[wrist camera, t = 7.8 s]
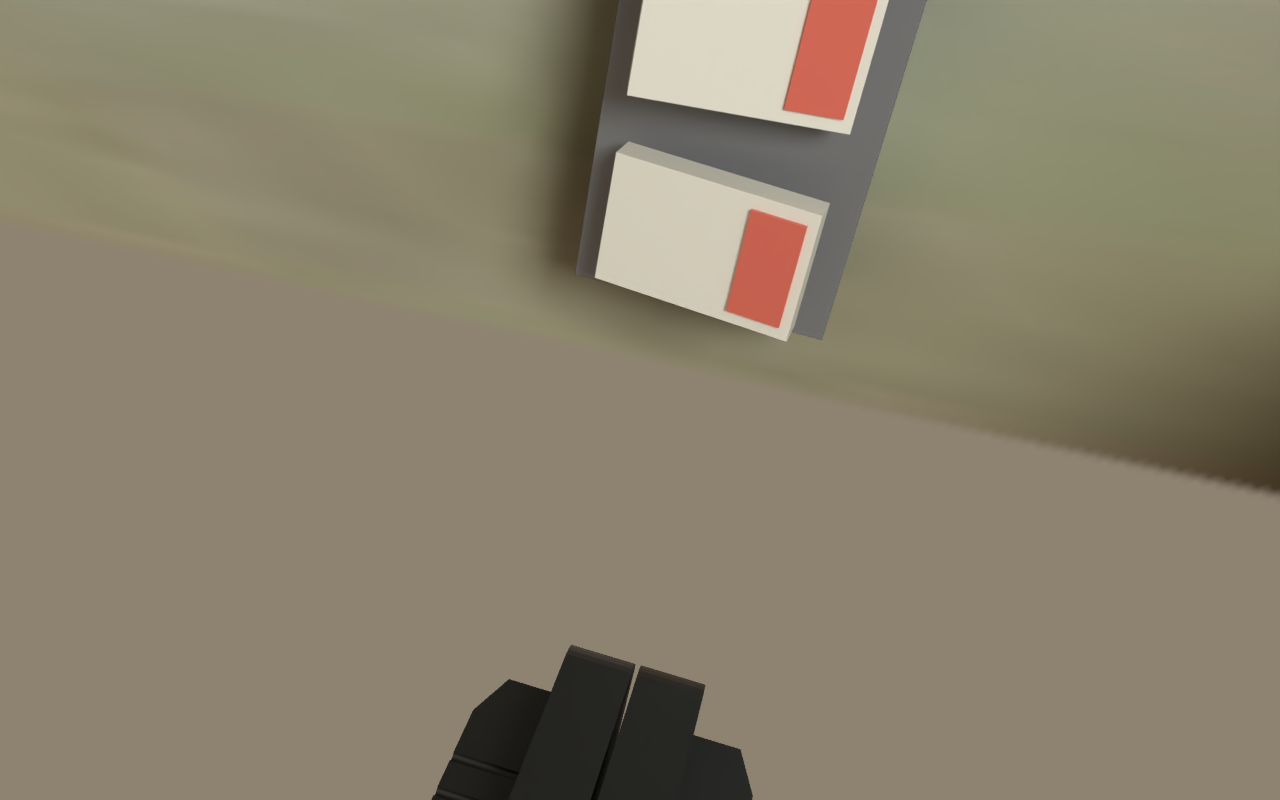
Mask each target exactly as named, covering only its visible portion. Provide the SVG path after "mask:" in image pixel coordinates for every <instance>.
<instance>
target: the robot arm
mask: <svg viewBox="0 0 1280 800" xmlns="http://www.w3.org/2000/svg"><path fill="white" fill-rule="evenodd" d="M634 669H635V664H633V663H630V662H627V661H623V660H620V659H617V658H613V657H610V656H607V655H603V654H600V653H596V652H593V651H590V650H587V649H583V648H580V647H577V646H573V645H571V646H570V648H569V650H568V652H567V654H566V656H565V658H564V661H563V663H562V666H561V669H560V671H559V674H558V676H557V679H556V681H555V683H554V686H553V688H552V691H551V692H549V691H546V690H543V689H539V688H536V687H533V686H530V685H526V684H523V683H520V682H517V681H513V680H510V679H509V680H507V681H506V682H505V683H504V684H503V685H502V686H501V687H499V688H498V689H497V690H496V691H495V692H494V693H493V694H491V695H490V696H489V697H488V698H487V699H485V700H484V701H483V702H482V703H481V704H480V705H479V706H477V707H476V708H475V709H474V710H473V712H472V714H471V716H470V718H469V720H468V723H467V725H466V727H465V729H464V731H463V733H462V735H461V738H460V740H459V742H458V744H457V746H456V748H455V751H454V754H453V757H452V759H451V760H450V761H449V763H448V765H447V768H446V770H445V772H444V774H443V776H442V778H441V780H440V783H439V785H438V788H437V791H436V794H435V796H433V798H432V800H752V797H753V795H752V792H751V788H750V784H749V780H748V776H747V773H746V769H745V765H744V761H743V757H742V754H741V750H740V749H737V748H734V747H731V746H727V745H724V744H721V743H718V742H714V741H711V740H708V739H704V738H701V737H698V736H695V735H693V734H694V730H695V726H696V722H697V718H698V714H699V710H700V706H701V702H702V697H703V693H704V689H705V685H704V684H701V683H698V682H694V681H691V680H688V679H684V678H681V677H678V676H675V675H671V674H668V673H664V672H661V671H658V670H654V669H651V668H648V667H645V666H641V667H640V669H639V672H638V675H637V678H636V681H635V684H634V687H633V691H632V694H631V697H630V700H629V703H628V706H627V710H626V713H625V716H624V719H623V722H622V718H623V714H624V710H625V706H626V702H627V697H628V694H629V690H630V686H631V682H632V677H633V673H634ZM621 722H622V725H621ZM620 726H621V728H620ZM619 730H620V732H619ZM618 734H619V735H618Z"/></svg>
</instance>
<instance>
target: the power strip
mask: <svg viewBox="0 0 1280 800" xmlns="http://www.w3.org/2000/svg"><path fill="white" fill-rule="evenodd" d="M926 1H927V0H889V2H888V5H887V8H886V12H885V15H884V19H883V22H882V26H881V29H880V33H879V36H878V40H877V43H876V46H875V50H874V53H873V57H872V60H871V64H870V67H869V71H868V74H867V77H866V81H865V84H864V88H863V91H862V95H861V98H860V102H859V105H858V108H857V112H856V115H855V119H854V122H853V126H852V129H851V133H850V135H849V134H843V133H838V132H832V131H826V130H821V129H815V128H809V127H804V126H798V125H792V124H787V123H781V122H776V121H770V120H764V119H759V118H753V117H747V116H742V115H736V114H730V113H725V112H719V111H713V110H708V109H702V108H696V107H691V106H685V105H679V104H674V103H668V102H662V101H657V100H651V99H645V98H640V97H634V96H628V95H627V89H628V80H629V74H630V68H631V63H632V57H633V51H634V45H635V39H636V33H637V27H638V22H639V16H640V10H641V4H642V0H619V2H618V8H617V14H616V21H615V27H614V33H613V40H612V46H611V52H610V58H609V65H608V71H607V77H606V83H605V90H604V96H603V102H602V109H601V115H600V121H599V127H598V134H597V140H596V146H595V152H594V159H593V165H592V171H591V178H590V184H589V190H588V196H587V203H586V209H585V215H584V221H583V228H582V234H581V240H580V247H579V253H578V259H577V265H576V272H575V274H577V275H581V276H585V277H588V278H592V279H596V280H599V281H603V280H600V279H597V278H595V273H596V268H597V262H598V256H599V250H600V244H601V238H602V232H603V227H604V221H605V215H606V209H607V203H608V197H609V191H610V186H611V180H612V174H613V168H614V162H615V156H616V152H617V151H618V150H619V149H620V148H622V147H623V146H624V145H625V144H626V143H627V142H632V143H635V144H639V145H642V146H645V147H648V148H652V149H655V150H658V151H661V152H665V153H668V154H671V155H675V156H678V157H681V158H684V159H688V160H691V161H694V162H697V163H701V164H704V165H707V166H710V167H714V168H717V169H720V170H723V171H727V172H730V173H733V174H737V175H740V176H743V177H746V178H750V179H753V180H756V181H759V182H763V183H766V184H769V185H772V186H776V187H779V188H782V189H785V190H789V191H792V192H795V193H798V194H802V195H805V196H808V197H812V198H815V199H818V200H821V201H825V202H828V203H830V205H829V208H828V212H827V215H826V219H825V222H824V226H823V229H822V233H821V236H820V239H819V243H818V246H817V250H816V253H815V257H814V260H813V264H812V267H811V271H810V274H809V277H808V281H807V284H806V288H805V291H804V295H803V298H802V302H801V305H800V308H799V312H798V315H797V319H796V322H795V326H794V328H793V330H792V332H793V333H797V334H801V335H804V336H808V337H812V338H816V339H819V340H822V338H823V335H824V332H825V328H826V325H827V322H828V319H829V315H830V312H831V309H832V306H833V302H834V299H835V296H836V293H837V289H838V286H839V283H840V280H841V276H842V273H843V270H844V267H845V263H846V260H847V257H848V254H849V250H850V247H851V244H852V241H853V238H854V234H855V231H856V228H857V225H858V221H859V218H860V215H861V212H862V208H863V205H864V202H865V199H866V195H867V192H868V189H869V186H870V182H871V179H872V176H873V173H874V169H875V166H876V163H877V160H878V156H879V153H880V150H881V147H882V143H883V140H884V137H885V134H886V130H887V127H888V124H889V121H890V118H891V114H892V111H893V108H894V105H895V101H896V98H897V95H898V92H899V88H900V85H901V82H902V79H903V75H904V72H905V69H906V66H907V62H908V59H909V56H910V53H911V49H912V46H913V43H914V40H915V36H916V33H917V30H918V27H919V23H920V20H921V17H922V14H923V10H924V7H925V4H926ZM603 282H606V281H603ZM607 283H609V282H607ZM611 284H612V283H611ZM614 285H615V284H614Z"/></svg>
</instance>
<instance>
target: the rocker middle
mask: <svg viewBox="0 0 1280 800" xmlns="http://www.w3.org/2000/svg"><path fill="white" fill-rule="evenodd" d="M888 2H889V0H642V4H641V10H640V16H639V22H638V27H637V33H636V39H635V45H634V51H633V57H632V63H631V68H630V74H629V80H628V89H627V95H628V96H634V97H640V98H645V99H651V100H657V101H662V102H668V103H674V104H679V105H685V106H691V107H696V108H702V109H708V110H713V111H719V112H725V113H730V114H736V115H742V116H747V117H753V118H759V119H764V120H770V121H776V122H781V123H787V124H792V125H798V126H804V127H809V128H815V129H821V130H826V131H832V132H838V133H843V134H849V135H850V133H851V129H852V126H853V122H854V119H855V115H856V112H857V108H858V105H859V102H860V98H861V95H862V91H863V88H864V84H865V81H866V77H867V74H868V71H869V67H870V64H871V60H872V57H873V53H874V50H875V46H876V43H877V40H878V36H879V33H880V29H881V26H882V22H883V19H884V15H885V12H886V8H887V5H888Z"/></svg>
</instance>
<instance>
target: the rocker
mask: <svg viewBox="0 0 1280 800" xmlns="http://www.w3.org/2000/svg"><path fill="white" fill-rule="evenodd" d="M829 205H830V203H828V202H825V201H821V200H818V199H815V198H812V197H808V196H805V195H802V194H798V193H795V192H792V191H789V190H785V189H782V188H779V187H776V186H772V185H769V184H766V183H763V182H759V181H756V180H753V179H750V178H746V177H743V176H740V175H737V174H733V173H730V172H727V171H723V170H720V169H717V168H714V167H710V166H707V165H704V164H701V163H697V162H694V161H691V160H688V159H684V158H681V157H678V156H675V155H671V154H668V153H665V152H661V151H658V150H655V149H652V148H648V147H645V146H642V145H639V144H635V143H632V142H627V143H626V144H625V145H624V146H623V147H622V148H620V149H619V150H618V151H617V152H616V156H615V162H614V168H613V174H612V180H611V186H610V191H609V197H608V203H607V209H606V215H605V221H604V227H603V232H602V238H601V244H600V250H599V256H598V262H597V268H596V273H595V278H597V279H600V280H603V281H606V282H609V283H612V284H615V285H618V286H621V287H624V288H627V289H630V290H633V291H636V292H639V293H642V294H645V295H648V296H651V297H654V298H657V299H660V300H663V301H666V302H669V303H672V304H675V305H678V306H681V307H684V308H687V309H690V310H693V311H696V312H699V313H702V314H705V315H708V316H711V317H714V318H717V319H720V320H723V321H726V322H729V323H732V324H735V325H738V326H741V327H744V328H747V329H750V330H753V331H756V332H759V333H762V334H765V335H768V336H771V337H774V338H777V339H780V340H783V341H787V339H788V337H789V335H790V334H791V332H792V330H793V328H794V326H795V322H796V319H797V315H798V312H799V308H800V305H801V302H802V298H803V295H804V291H805V288H806V284H807V281H808V277H809V274H810V271H811V267H812V264H813V260H814V257H815V253H816V250H817V246H818V243H819V239H820V236H821V233H822V229H823V226H824V222H825V219H826V215H827V212H828V208H829Z"/></svg>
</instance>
